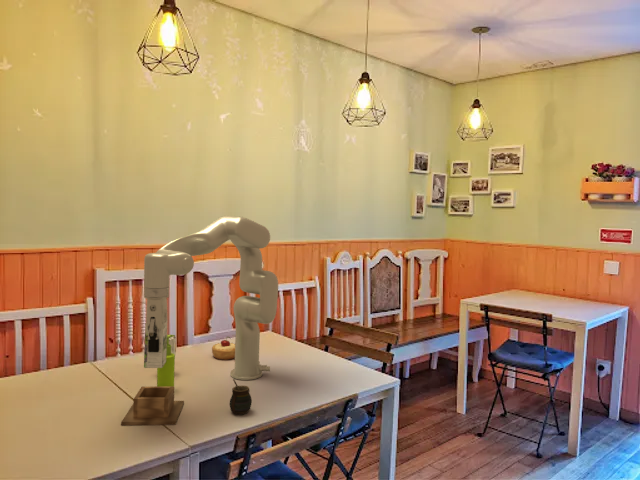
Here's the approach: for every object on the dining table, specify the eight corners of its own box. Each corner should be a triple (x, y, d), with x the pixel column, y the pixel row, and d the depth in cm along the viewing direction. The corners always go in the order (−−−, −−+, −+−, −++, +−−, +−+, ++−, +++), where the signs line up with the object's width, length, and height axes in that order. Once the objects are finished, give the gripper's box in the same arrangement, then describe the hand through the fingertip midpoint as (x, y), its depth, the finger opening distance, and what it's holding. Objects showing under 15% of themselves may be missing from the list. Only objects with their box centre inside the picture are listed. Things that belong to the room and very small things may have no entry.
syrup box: (148, 362, 160) (148, 318, 159) (167, 362, 160) (167, 318, 159) (143, 368, 154) (144, 322, 153) (163, 368, 155) (163, 322, 154)
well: (183, 403, 167) (184, 383, 166) (175, 424, 151) (176, 402, 151) (134, 403, 165) (135, 383, 165) (121, 425, 149) (121, 402, 149)
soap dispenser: (179, 388, 180) (180, 334, 179) (167, 395, 174) (168, 339, 172) (165, 385, 182) (166, 332, 181) (153, 392, 176) (154, 337, 174)
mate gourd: (241, 418, 157) (242, 387, 157) (223, 412, 161) (224, 382, 161) (256, 410, 163) (256, 381, 163) (238, 405, 167) (239, 376, 167)
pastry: (206, 359, 216) (206, 339, 216) (221, 352, 227) (221, 332, 226) (230, 362, 212) (229, 342, 211) (244, 355, 223) (244, 335, 222)
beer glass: (178, 372, 197) (179, 335, 196) (171, 378, 190) (172, 340, 189) (161, 371, 197) (162, 334, 196) (154, 377, 190) (154, 339, 189)
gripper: (163, 297, 147) (162, 357, 149) (173, 288, 164) (172, 341, 166) (137, 297, 146) (136, 357, 148) (150, 287, 164) (149, 341, 165)
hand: (155, 348), depth 157 cm, fingers closed on syrup box, 5 cm apart
